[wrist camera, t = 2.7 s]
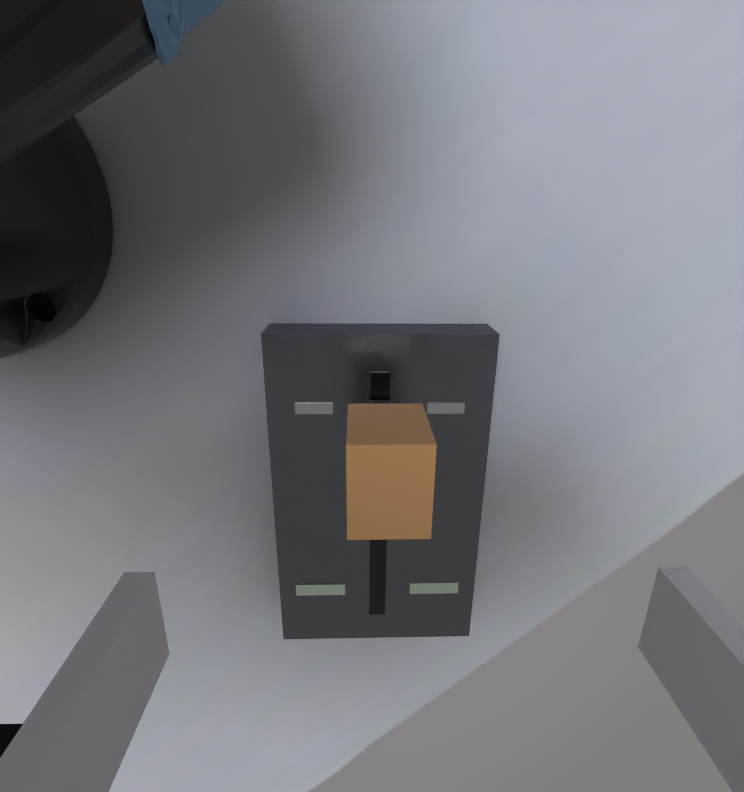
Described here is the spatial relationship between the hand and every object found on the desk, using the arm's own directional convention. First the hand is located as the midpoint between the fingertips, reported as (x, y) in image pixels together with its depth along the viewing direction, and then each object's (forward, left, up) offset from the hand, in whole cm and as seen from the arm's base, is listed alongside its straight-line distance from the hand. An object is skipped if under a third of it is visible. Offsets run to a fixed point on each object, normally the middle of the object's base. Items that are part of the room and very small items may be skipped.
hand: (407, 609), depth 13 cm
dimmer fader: (0, 0, -13) cm, 13 cm away
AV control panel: (+6, 0, -16) cm, 17 cm away
